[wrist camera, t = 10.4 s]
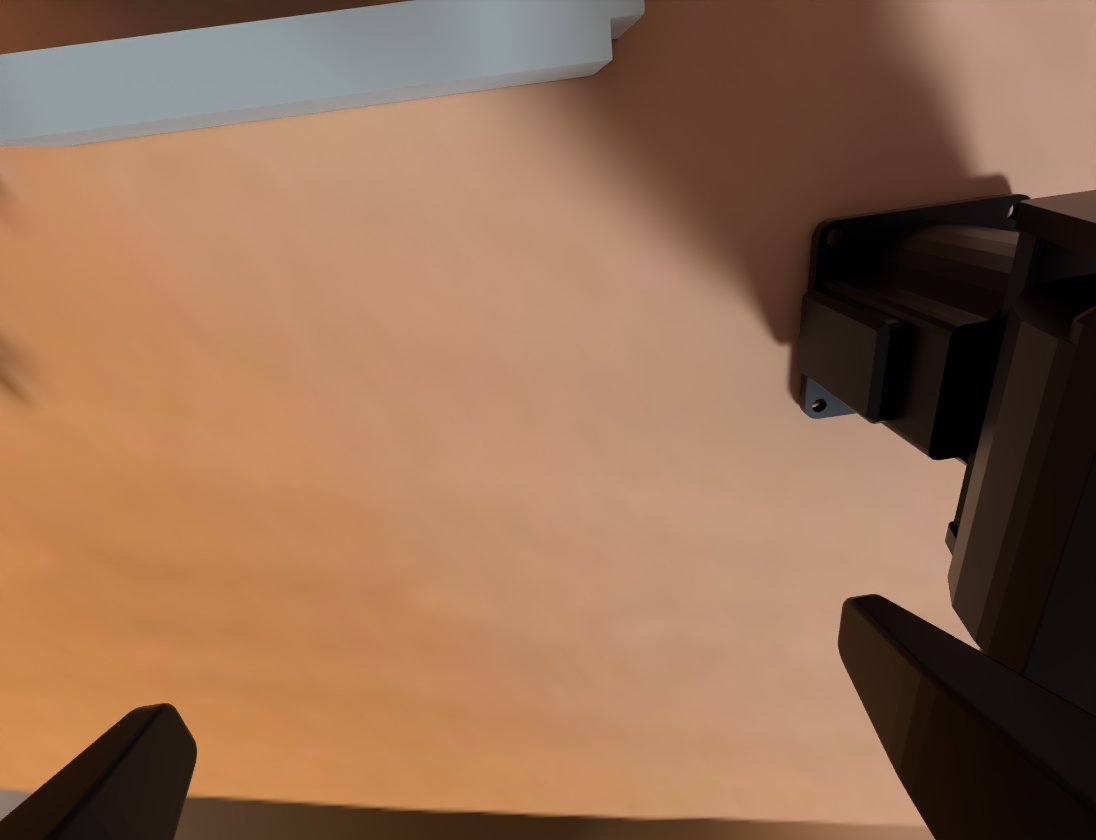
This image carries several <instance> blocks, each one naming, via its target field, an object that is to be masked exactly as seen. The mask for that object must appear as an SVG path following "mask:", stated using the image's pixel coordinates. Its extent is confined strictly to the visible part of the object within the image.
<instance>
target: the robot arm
mask: <svg viewBox="0 0 1096 840" xmlns="http://www.w3.org/2000/svg"><path fill="white" fill-rule="evenodd" d="M1012 206H1013V212H1012V214H1011V215H1010V216H1009V217H1008V218H1007V213H1008V211H1009V208H1011V207H1012ZM834 229H835V230H836V237H835V240H834V241H833V242H832V243H830V244H828V243H827V236H828V234H829V233H830V231H831V230H834ZM797 367H798V370H799V371H801V372H802V376H801V389H800V408H801V410H802V411H803V412H804V413H805V414H806V415H808V416H809V417H811V418H814V419H820V418H826V417H833V416H840V415H847V414H854V413H857V414H859V415H860V416H861V417H863V418H864V419H866V420H867V421H868V422H870V423H872V424H876V423H882V424H883V425H885V426H886V427H888V428H889V429H890V430H892V431H893V432H895V433H896V434H897V435H899V436H900V437H902V438H903V439H905V440H906V441H907V442H909V443H910V444H912V445H913V446H914V447H916V448H917V449H919V450H920V451H921V452H923V453H924V454H926V455H927V456H928V457H930V458H931V459H933V460H943V459H950V458H956V459H957V460H959V461H960V462H962V463H963V464H965V465H966V471H965V475H964V480H963V484H962V488H961V493H960V497H959V502H958V506H957V511H956V515H955V519H954V521H952V522H950V523H949V525H948V529H947V534H946V538H945V542H946V544H947V546H948V548H949V550H950V552H951V554H952V560H951V565H950V569H949V573H948V583H949V590H950V596H951V603H952V607H953V609H954V610H955V612H956V613H957V615H958V616H959V618H960V620H961V621H962V623H963V624H964V626H965V627H966V629H967V630H968V632H969V634H970V635H971V637H972V638H973V640H974V641H975V642H976V644H977V645H978V646H979V647H980V649H979V650H977V649H975V648H973V647H972V646H970V645H968V644H966V643H964V642H963V641H961V640H959V639H957V638H955V637H954V636H952V635H950V634H948V633H947V632H945V631H943V630H941V629H939V628H938V627H936V626H934V625H932V624H931V623H929V622H927V621H925V620H923V619H922V618H920V617H918V616H916V615H915V614H913V613H911V612H909V611H907V610H906V609H904V608H902V607H900V606H898V605H897V604H895V603H893V602H891V601H890V600H888V599H886V598H884V597H882V596H880V595H877V594H869V595H862V596H856V597H850V598H847V599H846V600H845V602H844V603H843V607H842V613H841V621H840V629H839V636H838V649H839V653H840V656H841V659H842V661H843V664H844V666H845V668H846V670H847V672H848V674H849V676H850V678H851V680H852V682H853V685H854V687H855V689H856V691H857V693H858V695H859V697H860V699H861V701H862V703H863V705H864V708H865V710H866V712H867V714H868V716H869V718H870V720H871V722H872V724H873V726H874V728H875V731H876V733H877V735H878V737H879V739H880V741H881V743H882V745H883V747H884V749H885V751H886V754H887V756H888V758H889V760H890V762H891V764H892V765H893V767H894V769H895V771H896V773H897V775H898V777H899V779H900V781H901V782H902V784H903V786H904V788H905V789H906V791H907V793H908V795H909V796H910V798H911V800H912V801H913V803H914V805H915V806H916V808H917V810H918V811H919V813H920V815H921V817H922V818H923V820H924V822H925V823H926V825H927V827H928V828H929V830H930V831H931V833H932V835H933V836H934V838H935V840H1096V190H1092V191H1085V192H1078V193H1071V194H1064V195H1056V196H1049V197H1042V198H1035V199H1030V198H1029V197H1028V196H1027V195H1022V194H1010V193H1008V194H1001V195H994V196H987V197H980V198H973V199H965V200H958V201H951V202H944V203H937V204H930V205H923V206H915V207H908V208H901V209H894V210H887V211H880V212H873V213H865V214H858V215H851V216H844V217H837V218H830V219H827V220H824V221H822V222H821V223H820V224H818V225H817V227H816V228H815V230H814V232H813V236H812V243H811V256H810V269H809V283H808V290H807V292H806V293H805V294H804V296H803V297H802V309H801V323H800V337H799V351H798V365H797ZM820 398H821V401H820V404H819V405H818V406H816V407H813V408H812V405H813V403H814V402H815V401H816V400H818V399H820ZM196 758H197V747H196V742H195V740H194V738H193V736H192V735H191V733H190V731H189V730H188V728H187V726H186V725H185V723H184V721H183V720H182V718H181V716H180V715H179V713H178V711H177V710H176V708H175V707H174V706H173V705H171V704H169V703H162V704H155V705H149V706H143V707H139V708H136V709H134V710H132V711H131V712H129V713H128V714H127V715H126V716H124V717H123V718H122V719H121V720H120V721H119V722H117V723H116V724H115V725H114V726H113V727H111V728H110V729H109V730H108V731H107V732H105V733H104V734H103V735H102V736H101V737H99V738H98V739H97V740H96V741H95V742H94V743H92V744H91V745H90V746H89V747H88V748H86V749H85V750H84V751H83V752H82V753H80V754H79V755H78V756H77V757H76V758H75V759H73V760H72V761H71V762H70V763H69V764H67V765H66V766H65V767H64V768H63V769H61V770H60V771H59V772H58V773H57V774H56V775H54V776H53V777H52V778H51V779H50V780H48V781H47V782H46V783H45V784H44V785H42V786H41V787H40V788H39V789H38V790H37V791H35V792H34V793H33V794H32V795H31V796H29V797H28V798H27V799H26V800H25V801H23V802H22V803H21V804H20V805H19V806H18V807H16V808H15V809H14V810H13V811H12V812H10V813H9V814H8V815H7V816H6V817H4V818H3V819H2V820H1V821H0V840H174V839H175V835H176V831H177V828H178V824H179V821H180V817H181V814H182V810H183V806H184V803H185V799H186V796H187V792H188V789H189V785H190V782H191V778H192V774H193V771H194V767H195V764H196Z"/></svg>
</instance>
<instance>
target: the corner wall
mask: <svg viewBox="0 0 1096 840" xmlns="http://www.w3.org/2000/svg"><path fill="white" fill-rule="evenodd" d="M644 14H645V6H644V0H413V1H405V2H398V3H390V4H382V5H375V6H367V7H360V8H352V9H344V10H337V11H329V12H321V13H314V14H306V15H298V16H291V17H283V18H276V19H268V20H260V21H253V22H245V23H237V24H230V25H222V26H214V27H207V28H199V29H192V30H184V31H176V32H169V33H161V34H153V35H146V36H138V37H130V38H123V39H115V40H108V41H100V42H92V43H85V44H77V45H69V46H62V47H54V48H46V49H39V50H31V51H24V52H16V53H8V54H1V55H0V146H45V147H64V146H72V145H79V144H87V143H94V142H102V141H109V140H117V139H124V138H132V137H139V136H146V135H154V134H161V133H169V132H176V131H184V130H191V129H199V128H206V127H213V126H221V125H228V124H236V123H243V122H251V121H258V120H266V119H273V118H280V117H288V116H295V115H303V114H310V113H318V112H325V111H333V110H340V109H348V108H355V107H362V106H370V105H377V104H385V103H392V102H400V101H407V100H415V99H422V98H429V97H437V96H444V95H452V94H459V93H467V92H474V91H482V90H489V89H497V88H504V87H511V86H519V85H526V84H534V83H541V82H549V81H556V80H564V79H571V78H578V77H586V76H592V75H594V74H595V73H596V72H597V71H599V70H600V69H601V68H602V67H604V66H605V65H606V64H608V63H609V62H610V61H611V60H613V57H612V41H611V40H612V39H618V38H619V37H620V36H622V35H623V34H624V33H625V32H626V31H627V30H628V29H629V28H630V27H631V26H632V25H633V24H634V23H635V22H637V21H638V20H639V19H640V18H641V17H642V16H643V15H644Z"/></svg>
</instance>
